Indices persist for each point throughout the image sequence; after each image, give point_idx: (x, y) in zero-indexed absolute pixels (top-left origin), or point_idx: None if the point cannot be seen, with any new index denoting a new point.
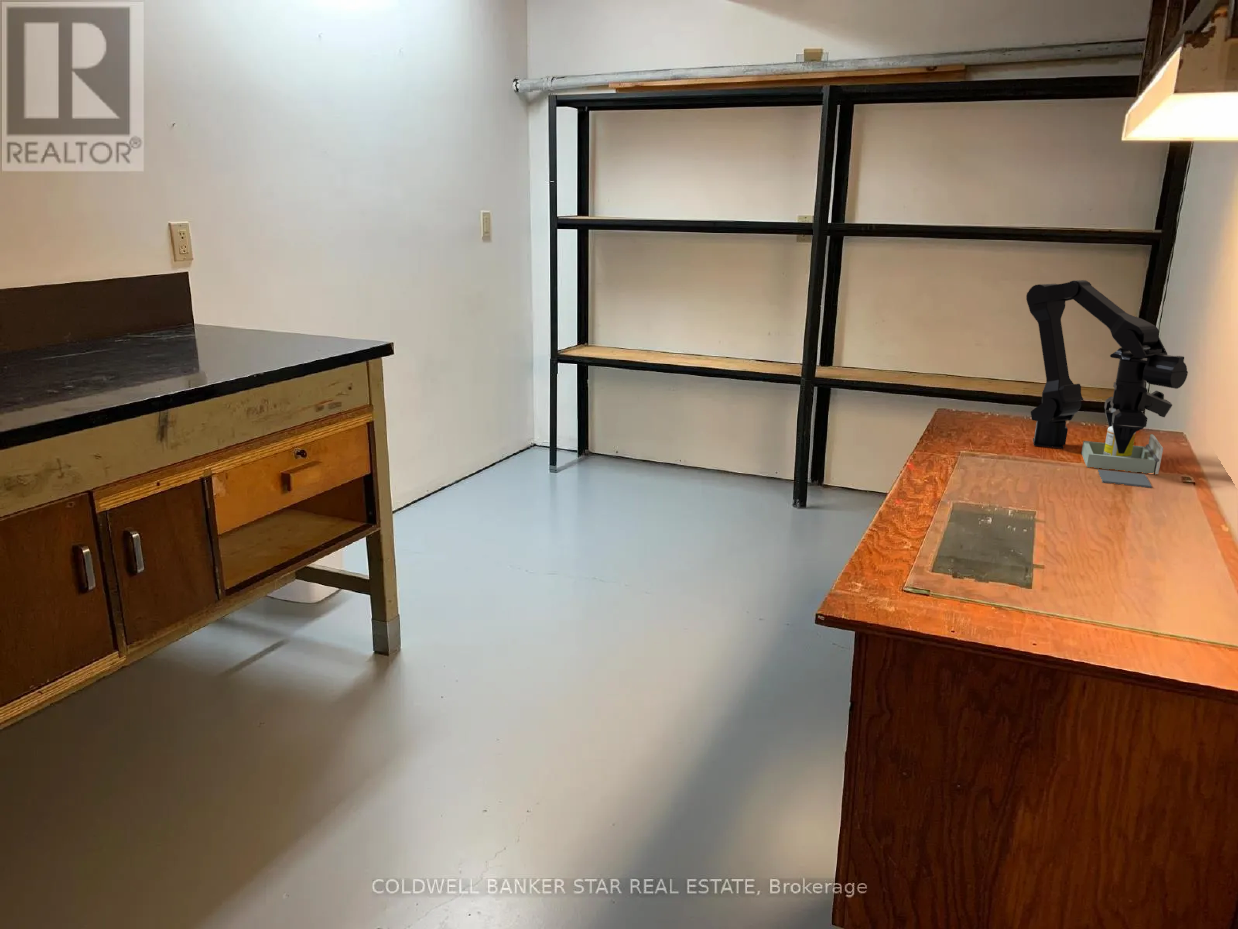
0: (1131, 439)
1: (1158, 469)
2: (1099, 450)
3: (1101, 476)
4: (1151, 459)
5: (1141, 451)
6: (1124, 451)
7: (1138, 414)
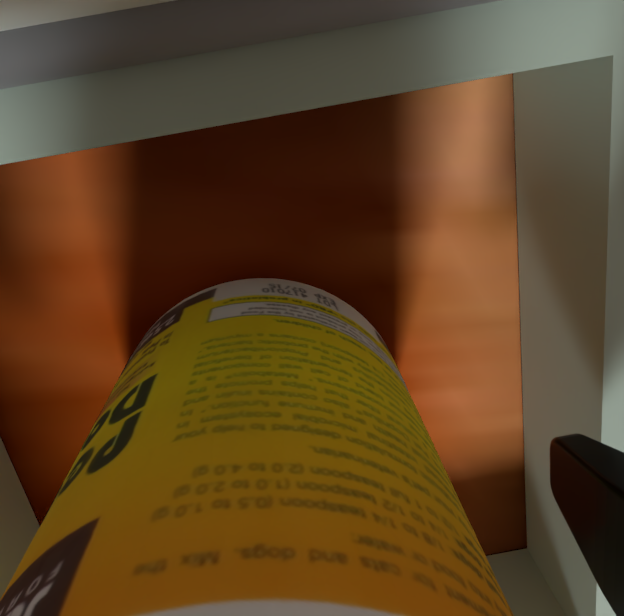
0: (430, 524)
1: None
2: None
3: None
4: (611, 27)
5: None
6: (608, 448)
7: None
